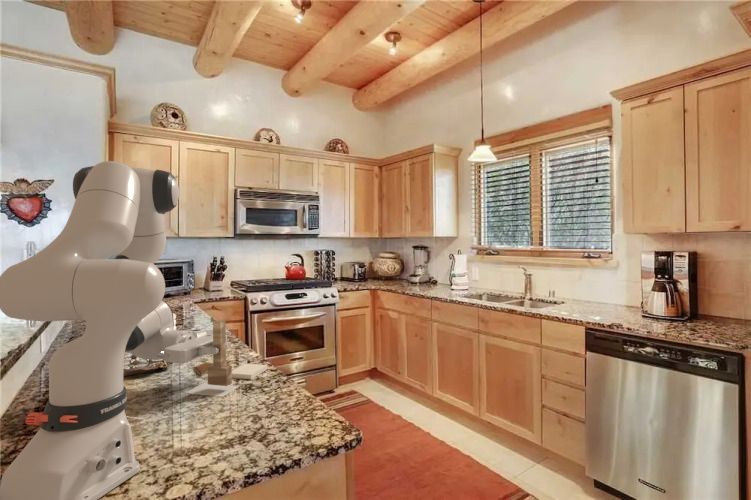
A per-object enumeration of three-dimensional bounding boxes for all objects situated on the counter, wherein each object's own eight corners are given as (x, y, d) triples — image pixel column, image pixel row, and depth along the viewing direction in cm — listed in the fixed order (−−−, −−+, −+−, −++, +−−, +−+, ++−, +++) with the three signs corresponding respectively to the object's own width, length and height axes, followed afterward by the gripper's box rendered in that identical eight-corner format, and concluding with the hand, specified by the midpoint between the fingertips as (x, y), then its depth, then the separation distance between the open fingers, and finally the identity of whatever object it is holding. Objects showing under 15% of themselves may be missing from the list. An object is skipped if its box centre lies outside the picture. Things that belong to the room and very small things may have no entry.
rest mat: (222, 398, 107) (222, 396, 107) (184, 394, 110) (184, 392, 110) (239, 387, 115) (239, 386, 115) (203, 384, 118) (203, 382, 118)
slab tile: (251, 374, 121) (267, 365, 131) (227, 373, 123) (245, 363, 132) (251, 381, 121) (267, 371, 131) (227, 379, 123) (245, 369, 133)
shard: (200, 379, 123) (200, 373, 123) (179, 378, 125) (179, 372, 125) (221, 368, 134) (221, 363, 134) (201, 367, 136) (201, 362, 136)
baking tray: (182, 373, 130) (182, 357, 130) (101, 386, 118) (101, 368, 118) (170, 352, 155) (170, 338, 155) (103, 360, 143) (103, 345, 143)
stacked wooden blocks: (226, 386, 111) (226, 321, 110) (207, 384, 112) (207, 320, 112) (231, 383, 113) (231, 320, 113) (213, 381, 115) (212, 319, 114)
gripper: (152, 344, 105) (197, 347, 102) (203, 327, 125) (242, 330, 122) (152, 367, 106) (197, 371, 102) (203, 347, 125) (242, 350, 122)
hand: (222, 348), depth 112 cm, fingers open, 3 cm apart
